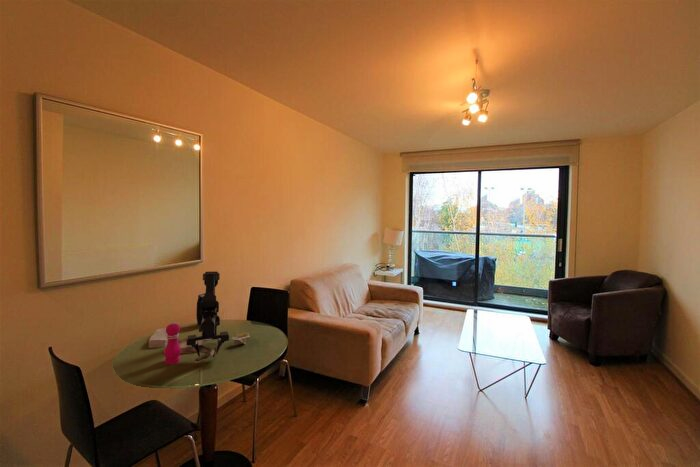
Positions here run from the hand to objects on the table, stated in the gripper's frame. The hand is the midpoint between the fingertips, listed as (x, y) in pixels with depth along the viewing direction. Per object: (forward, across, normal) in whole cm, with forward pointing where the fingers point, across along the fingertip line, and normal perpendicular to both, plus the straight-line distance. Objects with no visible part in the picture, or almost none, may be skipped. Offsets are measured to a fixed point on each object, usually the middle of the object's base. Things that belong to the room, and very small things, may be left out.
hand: (207, 355), depth 157 cm
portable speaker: (+3, +1, -49) cm, 49 cm away
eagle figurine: (+2, +1, 0) cm, 2 cm away
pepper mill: (+3, +16, -4) cm, 16 cm away
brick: (+3, +23, -31) cm, 38 cm away
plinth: (+3, +8, -18) cm, 19 cm away
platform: (+3, -17, -14) cm, 22 cm away
